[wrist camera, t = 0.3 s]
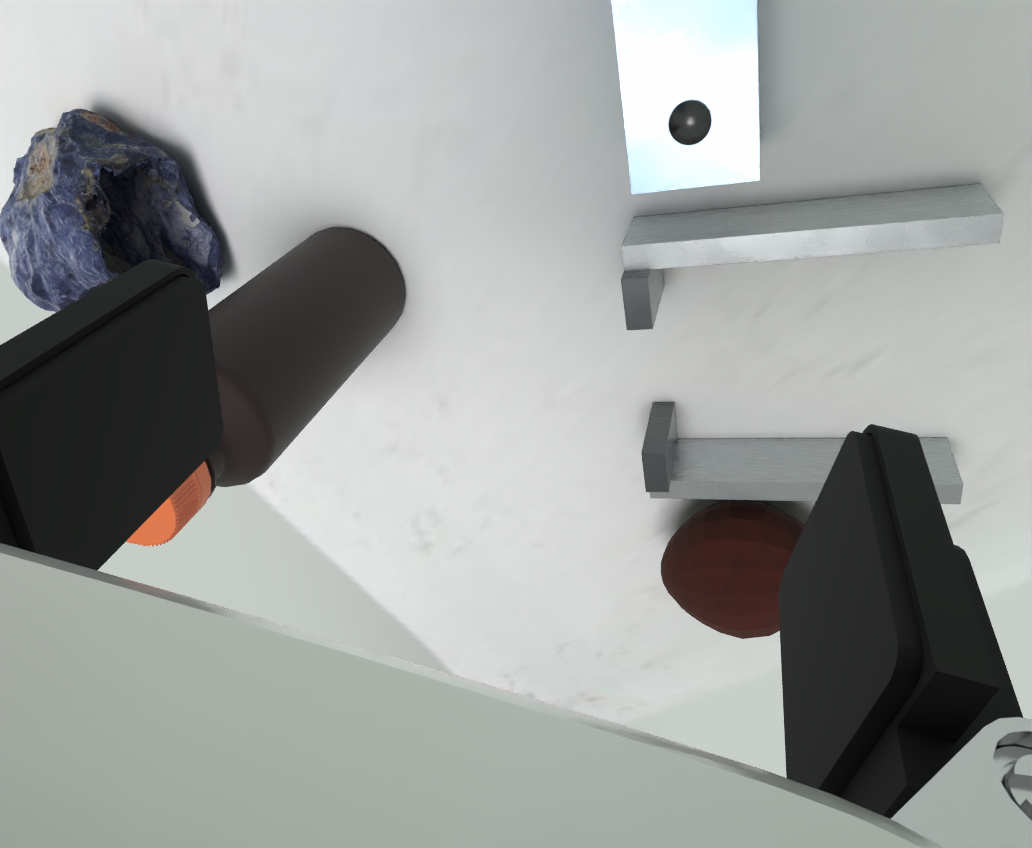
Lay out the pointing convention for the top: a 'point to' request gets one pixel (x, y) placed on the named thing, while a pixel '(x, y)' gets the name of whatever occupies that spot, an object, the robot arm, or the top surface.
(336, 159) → the top surface
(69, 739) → the robot arm
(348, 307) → the bottle
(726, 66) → the lock block
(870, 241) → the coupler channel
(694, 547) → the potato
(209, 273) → the rock
